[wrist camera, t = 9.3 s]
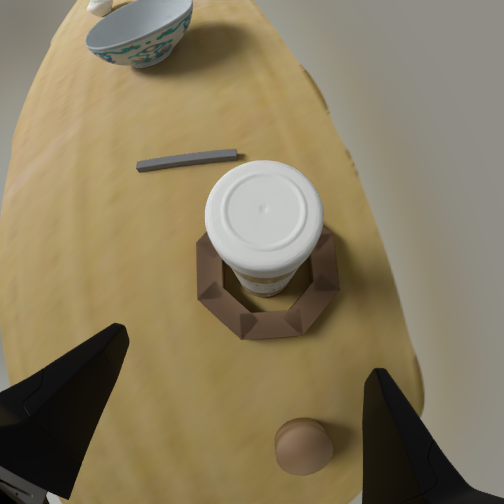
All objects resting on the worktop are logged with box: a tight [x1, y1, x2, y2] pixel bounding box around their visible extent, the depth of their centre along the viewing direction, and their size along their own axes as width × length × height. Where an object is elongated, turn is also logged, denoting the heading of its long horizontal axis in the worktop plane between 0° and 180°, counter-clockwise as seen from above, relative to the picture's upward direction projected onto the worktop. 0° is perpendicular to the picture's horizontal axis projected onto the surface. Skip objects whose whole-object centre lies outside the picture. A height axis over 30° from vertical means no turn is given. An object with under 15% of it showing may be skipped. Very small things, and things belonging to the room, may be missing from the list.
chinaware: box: [85, 0, 193, 68], centre depth 28 cm, size 15×15×8 cm
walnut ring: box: [196, 226, 340, 340], centre depth 23 cm, size 11×11×2 cm
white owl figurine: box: [87, 0, 113, 17], centre depth 35 cm, size 6×6×7 cm
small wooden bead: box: [275, 418, 334, 476], centre depth 18 cm, size 4×4×3 cm
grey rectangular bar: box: [136, 149, 237, 172], centre depth 26 cm, size 10×1×1 cm, turn 93°
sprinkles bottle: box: [205, 160, 324, 297], centre depth 17 cm, size 5×5×13 cm
